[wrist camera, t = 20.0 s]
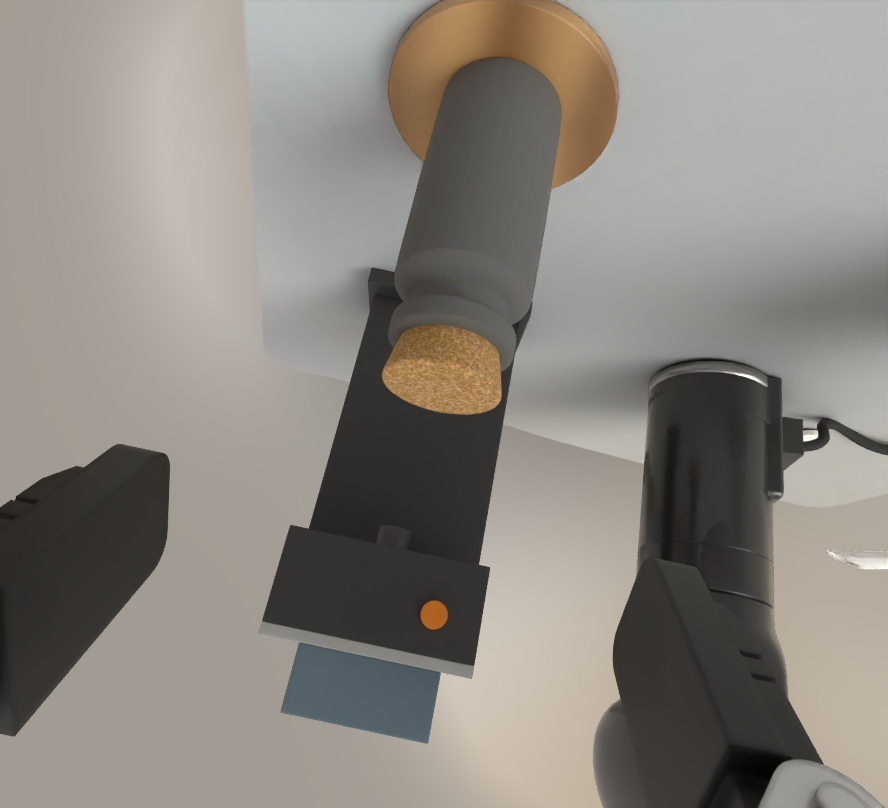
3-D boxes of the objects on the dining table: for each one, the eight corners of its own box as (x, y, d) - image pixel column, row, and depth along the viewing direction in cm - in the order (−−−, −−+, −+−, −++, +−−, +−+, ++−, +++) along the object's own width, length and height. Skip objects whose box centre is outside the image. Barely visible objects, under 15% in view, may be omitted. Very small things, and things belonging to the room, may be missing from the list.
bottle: (420, 75, 29) (337, 357, 23) (541, 38, 26) (480, 348, 20) (470, 167, 34) (411, 421, 28) (577, 144, 31) (536, 421, 25)
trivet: (639, -9, 25) (638, 4, 24) (601, 192, 35) (600, 203, 34) (371, -17, 26) (366, -5, 26) (408, 176, 36) (405, 187, 36)
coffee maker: (369, 224, 41) (219, 719, 30) (548, 261, 41) (468, 772, 30) (374, 319, 52) (267, 703, 41) (514, 349, 52) (446, 741, 41)
